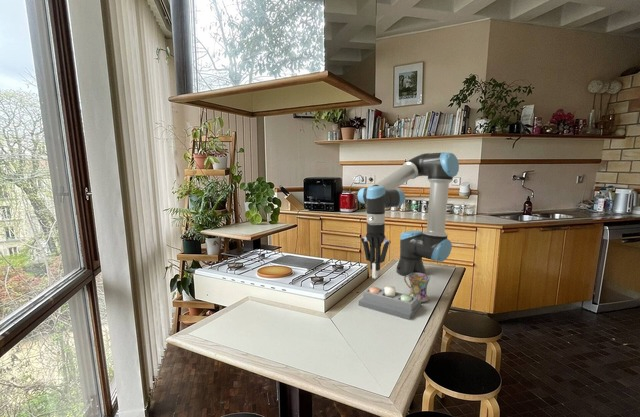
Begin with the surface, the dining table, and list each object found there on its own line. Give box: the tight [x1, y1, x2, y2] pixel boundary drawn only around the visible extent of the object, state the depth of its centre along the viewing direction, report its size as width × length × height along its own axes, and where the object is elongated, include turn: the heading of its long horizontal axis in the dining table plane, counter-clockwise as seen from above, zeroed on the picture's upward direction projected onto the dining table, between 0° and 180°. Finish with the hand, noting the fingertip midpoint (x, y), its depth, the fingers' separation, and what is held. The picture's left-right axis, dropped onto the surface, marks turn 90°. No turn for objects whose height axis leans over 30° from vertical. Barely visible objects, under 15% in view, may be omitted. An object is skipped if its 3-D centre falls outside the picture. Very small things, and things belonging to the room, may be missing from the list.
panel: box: [358, 285, 422, 321], centre depth 129 cm, size 14×22×5 cm, turn 54°
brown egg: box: [369, 286, 380, 294], centre depth 133 cm, size 4×4×4 cm
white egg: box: [384, 285, 396, 298], centre depth 128 cm, size 4×4×4 cm
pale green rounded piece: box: [401, 293, 412, 302], centre depth 125 cm, size 4×4×4 cm
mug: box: [403, 273, 431, 303], centre depth 135 cm, size 12×9×11 cm
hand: (375, 277), depth 132 cm, fingers closed
